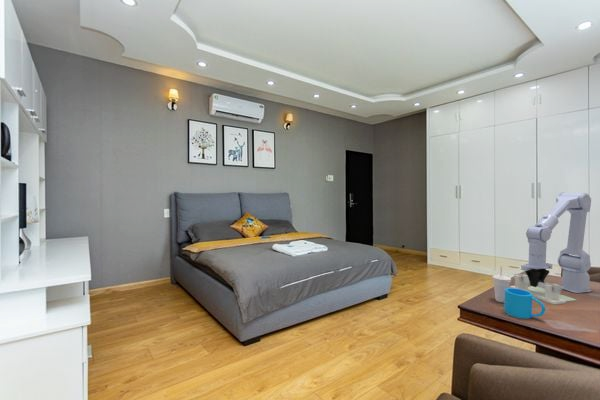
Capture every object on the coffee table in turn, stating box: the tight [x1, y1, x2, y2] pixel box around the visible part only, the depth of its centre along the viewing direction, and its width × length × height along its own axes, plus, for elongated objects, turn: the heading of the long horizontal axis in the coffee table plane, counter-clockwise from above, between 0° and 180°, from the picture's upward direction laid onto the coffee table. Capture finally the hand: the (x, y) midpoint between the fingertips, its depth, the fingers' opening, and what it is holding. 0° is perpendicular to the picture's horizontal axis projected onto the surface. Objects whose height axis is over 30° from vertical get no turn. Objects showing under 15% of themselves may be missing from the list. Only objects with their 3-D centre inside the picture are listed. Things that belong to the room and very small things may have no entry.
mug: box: [503, 287, 546, 319], centre depth 106 cm, size 12×8×8 cm
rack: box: [509, 273, 567, 305], centre depth 126 cm, size 6×19×7 cm, turn 13°
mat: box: [528, 285, 578, 303], centre depth 128 cm, size 7×17×1 cm, turn 13°
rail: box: [513, 273, 562, 293], centre depth 126 cm, size 2×18×2 cm, turn 13°
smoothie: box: [492, 266, 512, 303], centre depth 120 cm, size 6×6×14 cm
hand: (536, 286), depth 126 cm, fingers closed on rail, 2 cm apart
